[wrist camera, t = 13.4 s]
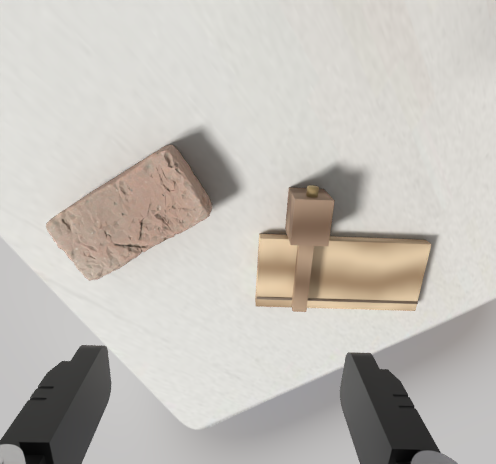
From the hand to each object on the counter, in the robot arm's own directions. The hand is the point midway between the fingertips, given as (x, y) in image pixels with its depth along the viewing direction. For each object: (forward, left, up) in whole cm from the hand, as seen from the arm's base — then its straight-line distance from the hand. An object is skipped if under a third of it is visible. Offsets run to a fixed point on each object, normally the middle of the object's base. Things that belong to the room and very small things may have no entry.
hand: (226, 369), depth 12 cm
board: (+11, +13, -30) cm, 35 cm away
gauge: (+7, +8, -30) cm, 32 cm away
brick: (+4, -11, -31) cm, 33 cm away
